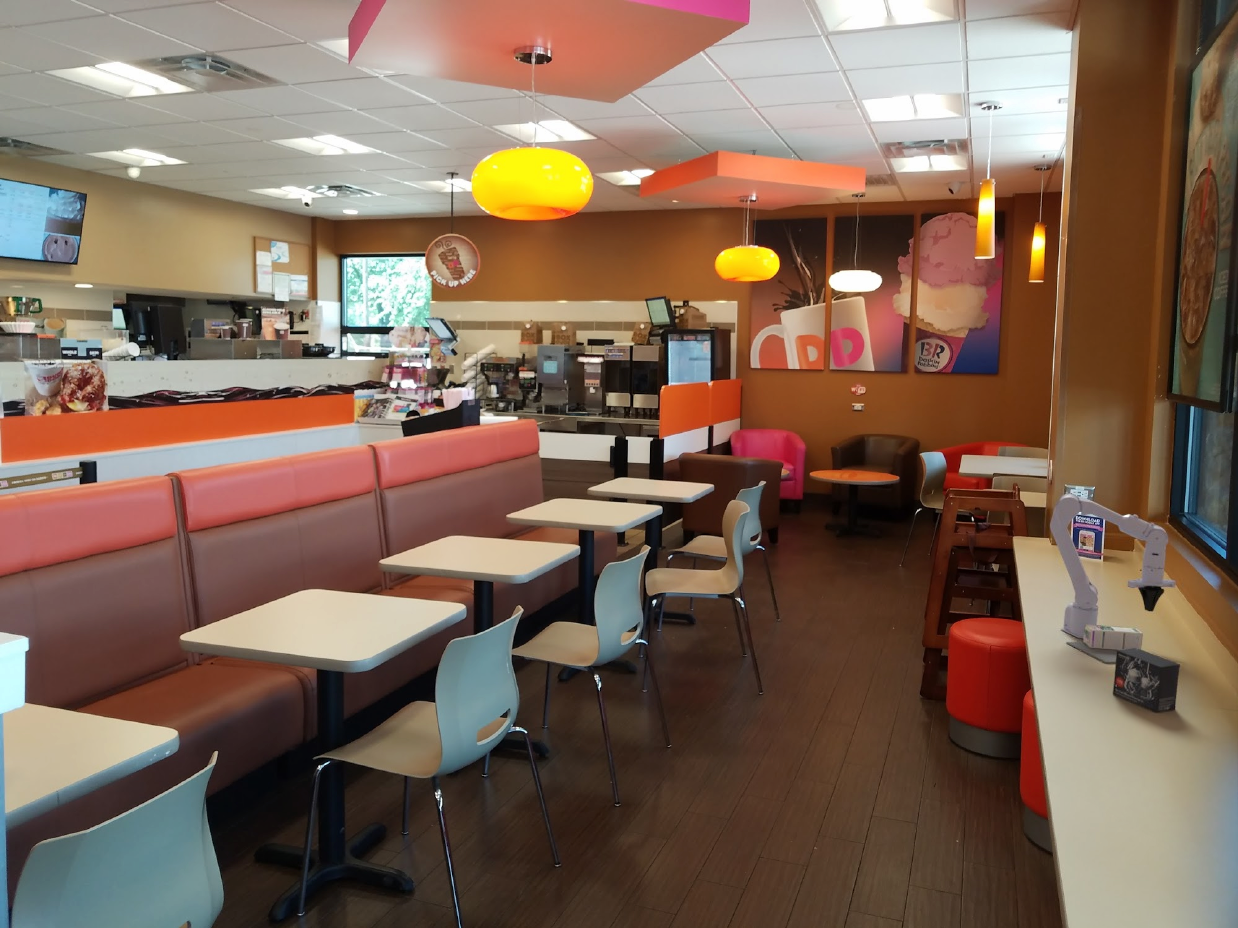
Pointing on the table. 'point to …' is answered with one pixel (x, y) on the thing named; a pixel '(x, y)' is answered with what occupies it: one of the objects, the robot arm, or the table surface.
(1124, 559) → the table surface
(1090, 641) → the syrup box
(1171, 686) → the small box
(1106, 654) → the grey mat
